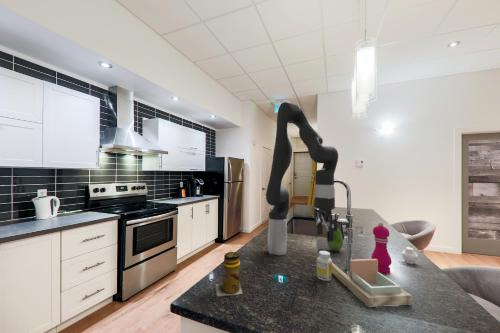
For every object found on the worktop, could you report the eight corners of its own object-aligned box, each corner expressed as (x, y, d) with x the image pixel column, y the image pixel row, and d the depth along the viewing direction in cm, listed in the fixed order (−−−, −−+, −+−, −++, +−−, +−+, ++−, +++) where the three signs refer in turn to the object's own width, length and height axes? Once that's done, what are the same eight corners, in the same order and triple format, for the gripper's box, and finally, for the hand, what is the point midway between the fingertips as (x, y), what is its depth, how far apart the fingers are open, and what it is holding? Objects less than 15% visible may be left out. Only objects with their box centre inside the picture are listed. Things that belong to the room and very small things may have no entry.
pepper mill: (388, 267, 89) (388, 221, 90) (394, 275, 83) (393, 225, 83) (369, 265, 92) (369, 219, 92) (373, 272, 85) (373, 223, 86)
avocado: (345, 253, 105) (345, 229, 105) (330, 253, 105) (330, 229, 106) (339, 247, 113) (339, 225, 113) (324, 247, 113) (324, 225, 114)
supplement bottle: (320, 281, 77) (320, 255, 78) (314, 274, 83) (314, 250, 83) (334, 280, 78) (334, 255, 78) (327, 274, 83) (327, 249, 84)
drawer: (371, 303, 64) (371, 274, 64) (350, 284, 75) (350, 259, 75) (400, 302, 65) (400, 273, 66) (376, 283, 76) (375, 258, 76)
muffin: (402, 263, 94) (402, 248, 94) (400, 258, 99) (400, 244, 100) (420, 266, 91) (419, 250, 91) (416, 261, 96) (416, 246, 97)
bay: (368, 307, 62) (368, 297, 62) (328, 269, 87) (328, 262, 87) (411, 305, 64) (411, 295, 64) (359, 268, 89) (359, 260, 89)
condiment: (242, 294, 69) (243, 257, 69) (217, 297, 67) (217, 259, 67) (238, 282, 76) (239, 249, 76) (215, 285, 74) (216, 251, 74)
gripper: (308, 194, 88) (308, 232, 88) (323, 198, 74) (324, 244, 73) (325, 194, 89) (325, 232, 88) (343, 198, 75) (343, 243, 74)
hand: (324, 237), depth 81 cm, fingers open, 8 cm apart
